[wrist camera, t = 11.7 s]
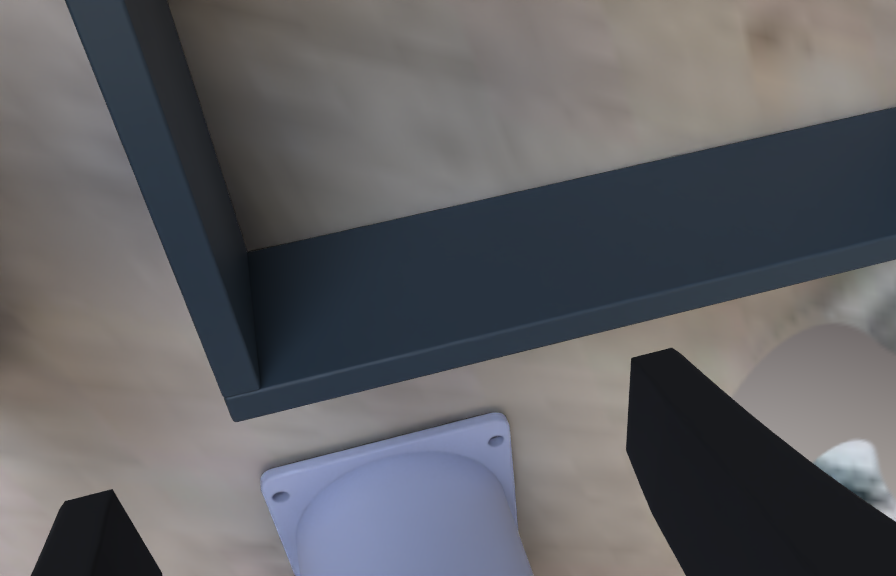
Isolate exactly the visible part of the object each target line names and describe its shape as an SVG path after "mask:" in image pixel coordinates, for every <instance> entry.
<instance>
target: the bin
mask: <svg viewBox="0 0 896 576" xmlns="http://www.w3.org/2000/svg"><path fill="white" fill-rule="evenodd" d="M65 2H66V4H67V7H68V9H69V12H70V14H71V17H72V19H73V22H74V24H75V27H76V29H77V32H78V34H79V37H80V39H81V42H82V44H83V47H84V49H85V52H86V54H87V57H88V60H89V62H90V65H91V67H92V70H93V72H94V75H95V77H96V80H97V82H98V85H99V87H100V90H101V92H102V95H103V97H104V100H105V102H106V105H107V107H108V110H109V112H110V115H111V117H112V120H113V122H114V125H115V127H116V130H117V132H118V135H119V137H120V140H121V142H122V145H123V147H124V150H125V152H126V155H127V157H128V160H129V162H130V165H131V167H132V170H133V172H134V175H135V177H136V180H137V182H138V185H139V188H140V190H141V193H142V195H143V198H144V200H145V203H146V205H147V208H148V210H149V213H150V215H151V218H152V220H153V223H154V225H155V228H156V230H157V233H158V235H159V238H160V240H161V243H162V245H163V248H164V250H165V253H166V255H167V258H168V260H169V263H170V265H171V268H172V270H173V273H174V275H175V278H176V280H177V283H178V285H179V288H180V290H181V293H182V295H183V298H184V300H185V303H186V305H187V308H188V310H189V313H190V316H191V318H192V321H193V323H194V326H195V328H196V331H197V333H198V336H199V338H200V341H201V343H202V346H203V348H204V351H205V353H206V356H207V358H208V361H209V363H210V366H211V368H212V371H213V373H214V376H215V378H216V381H217V383H218V386H219V388H220V391H221V393H222V396H223V397H224V400H225V402H226V405H227V407H228V410H229V413H230V415H231V418H232V419H233V421H234V422H239V421H244V420H248V419H252V418H256V417H260V416H264V415H268V414H272V413H276V412H280V411H284V410H288V409H292V408H296V407H300V406H304V405H308V404H312V403H316V402H320V401H325V400H329V399H333V398H337V397H341V396H345V395H349V394H353V393H357V392H361V391H365V390H369V389H373V388H377V387H381V386H385V385H389V384H393V383H397V382H401V381H406V380H410V379H414V378H418V377H422V376H426V375H430V374H434V373H438V372H442V371H446V370H450V369H454V368H458V367H462V366H466V365H470V364H474V363H478V362H482V361H486V360H491V359H495V358H499V357H503V356H507V355H511V354H515V353H519V352H523V351H527V350H531V349H535V348H539V347H543V346H547V345H551V344H555V343H559V342H563V341H567V340H572V339H576V338H580V337H584V336H588V335H592V334H596V333H600V332H604V331H608V330H612V329H616V328H620V327H624V326H628V325H632V324H636V323H640V322H644V321H648V320H653V319H657V318H661V317H665V316H669V315H673V314H677V313H681V312H685V311H689V310H693V309H697V308H701V307H705V306H709V305H713V304H717V303H721V302H725V301H729V300H733V299H738V298H742V297H746V296H750V295H754V294H758V293H762V292H766V291H770V290H774V289H778V288H782V287H786V286H790V285H794V284H798V283H802V282H806V281H810V280H814V279H819V278H823V277H827V276H831V275H835V274H839V273H843V272H847V271H851V270H855V269H859V268H863V267H867V266H871V265H875V264H879V263H883V262H887V261H891V260H895V259H896V107H894V108H890V109H885V110H881V111H876V112H872V113H868V114H863V115H859V116H854V117H850V118H845V119H841V120H836V121H832V122H827V123H823V124H818V125H814V126H810V127H805V128H801V129H796V130H792V131H787V132H783V133H778V134H774V135H769V136H765V137H760V138H756V139H752V140H747V141H743V142H738V143H734V144H729V145H725V146H720V147H716V148H711V149H707V150H702V151H698V152H694V153H689V154H685V155H680V156H676V157H671V158H667V159H662V160H658V161H653V162H649V163H644V164H640V165H636V166H631V167H627V168H622V169H618V170H613V171H609V172H604V173H600V174H595V175H591V176H586V177H582V178H578V179H573V180H569V181H564V182H560V183H555V184H551V185H546V186H542V187H537V188H533V189H528V190H524V191H520V192H515V193H511V194H506V195H502V196H497V197H493V198H488V199H484V200H479V201H475V202H470V203H466V204H462V205H457V206H453V207H448V208H444V209H439V210H435V211H430V212H426V213H421V214H417V215H412V216H408V217H404V218H399V219H395V220H390V221H386V222H381V223H377V224H372V225H368V226H363V227H359V228H354V229H350V230H346V231H341V232H337V233H332V234H328V235H323V236H319V237H314V238H310V239H305V240H301V241H296V242H292V243H287V244H283V245H279V246H274V247H270V248H265V249H261V250H256V251H252V252H247V249H246V246H245V243H244V240H243V237H242V234H241V231H240V227H239V224H238V221H237V218H236V215H235V212H234V209H233V206H232V202H231V199H230V196H229V193H228V190H227V187H226V184H225V181H224V177H223V174H222V171H221V168H220V165H219V162H218V159H217V156H216V152H215V149H214V146H213V143H212V140H211V137H210V134H209V131H208V127H207V124H206V121H205V118H204V115H203V112H202V109H201V106H200V102H199V99H198V96H197V93H196V90H195V87H194V84H193V80H192V77H191V74H190V71H189V68H188V65H187V62H186V59H185V55H184V52H183V49H182V46H181V43H180V40H179V37H178V34H177V30H176V27H175V24H174V21H173V18H172V15H171V12H170V9H169V5H168V2H167V0H65Z"/></svg>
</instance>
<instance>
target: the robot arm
mask: <svg viewBox="0 0 896 576" xmlns="http://www.w3.org/2000/svg"><path fill="white" fill-rule="evenodd" d="M494 436H496V437H494ZM492 437H493V438H492ZM626 451H627V454H628V456H629V459H630V461H631V464H632V466H633V469H634V471H635V474H636V476H637V479H638V481H639V484H640V486H641V489H642V491H643V493H644V496H645V498H646V500H647V503H648V505H649V507H650V510H651V512H652V514H653V516H654V518H655V520H656V522H657V524H658V526H659V527H660V529H661V531H662V533H663V535H664V537H665V538H666V540H667V542H668V544H669V546H670V547H671V549H672V551H673V553H674V555H675V557H676V558H677V560H678V562H679V564H680V566H681V567H682V569H683V571H684V573H685V575H686V576H896V522H895V521H894V520H892V519H891V518H889V517H888V516H886V515H885V514H883V513H882V512H880V511H879V510H877V509H876V508H874V507H873V506H871V505H870V504H868V503H867V502H865V501H864V500H863V499H861V498H860V497H858V496H857V495H856V494H854V493H853V492H851V491H850V490H849V489H847V488H846V487H844V486H843V485H842V484H840V483H839V482H837V481H836V480H835V479H833V478H832V477H830V476H829V475H828V474H826V473H825V472H824V471H822V470H821V469H820V468H818V467H817V466H816V465H814V464H813V463H812V462H810V461H809V460H808V459H806V458H805V457H804V456H803V455H801V454H800V453H799V452H797V451H796V450H795V449H793V448H792V447H791V446H790V445H788V444H787V443H786V442H785V441H783V440H782V439H781V438H779V437H778V436H777V435H775V434H774V433H773V432H772V431H771V430H769V429H768V428H767V427H766V426H764V425H763V424H762V423H761V422H760V421H758V420H757V419H756V418H755V417H753V416H752V415H751V414H750V413H748V412H747V411H746V410H745V409H744V408H743V407H741V406H740V405H739V404H738V403H737V402H735V401H734V400H733V399H732V398H731V397H730V396H728V395H727V394H726V393H725V392H724V391H723V390H721V389H720V388H719V387H718V386H717V385H716V384H715V383H713V382H712V381H711V380H710V379H709V378H708V377H706V376H705V375H704V374H703V373H702V372H701V371H700V370H699V369H697V368H696V367H695V366H694V365H693V364H692V363H691V362H689V361H688V360H687V359H686V358H685V357H684V356H683V355H681V354H680V353H679V352H678V351H676V350H675V349H673V348H669V349H665V350H661V351H657V352H653V353H649V354H645V355H641V356H637V357H633V358H631V371H630V389H629V407H628V424H627V442H626ZM260 484H261V491H262V494H263V496H264V499H265V501H266V504H267V506H268V509H269V511H270V514H271V516H272V519H273V521H274V524H275V526H276V529H277V532H278V534H279V537H280V539H281V542H282V544H283V547H284V549H285V552H286V554H287V557H288V559H289V562H290V564H291V567H292V569H293V572H294V574H295V576H534V575H533V572H532V569H531V566H530V564H529V561H528V558H527V555H526V552H525V550H524V547H523V544H522V541H521V539H520V536H519V533H518V522H517V509H516V497H515V485H514V473H513V461H512V449H511V437H510V426H509V423H508V421H507V418H506V416H505V415H504V414H502V413H498V412H494V413H488V414H484V415H480V416H476V417H472V418H468V419H464V420H461V421H457V422H453V423H449V424H445V425H441V426H437V427H433V428H429V429H425V430H421V431H417V432H413V433H409V434H406V435H402V436H398V437H394V438H390V439H386V440H382V441H378V442H374V443H370V444H366V445H362V446H358V447H354V448H351V449H347V450H343V451H339V452H335V453H331V454H327V455H323V456H319V457H315V458H311V459H307V460H303V461H299V462H295V463H292V464H288V465H284V466H280V467H276V468H272V469H270V470H267V471H266V472H265V473H263V474H262V476H261V478H260ZM31 576H162V572H161V570H160V569H159V567H158V565H157V564H156V562H155V560H154V559H153V557H152V555H151V554H150V552H149V550H148V548H147V547H146V545H145V543H144V542H143V540H142V538H141V537H140V535H139V533H138V532H137V530H136V528H135V527H134V525H133V523H132V521H131V520H130V518H129V516H128V515H127V513H126V511H125V510H124V508H123V506H122V505H121V503H120V501H119V499H118V498H117V496H116V494H115V493H114V491H113V489H111V490H107V491H103V492H100V493H96V494H92V495H88V496H84V497H80V498H76V499H72V500H68V501H65V502H64V504H63V505H62V506H61V508H60V509H59V512H58V514H57V516H56V519H55V521H54V524H53V526H52V528H51V531H50V533H49V535H48V538H47V540H46V542H45V545H44V547H43V549H42V552H41V554H40V556H39V559H38V561H37V563H36V565H35V568H34V570H33V572H32V574H31Z"/></svg>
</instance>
